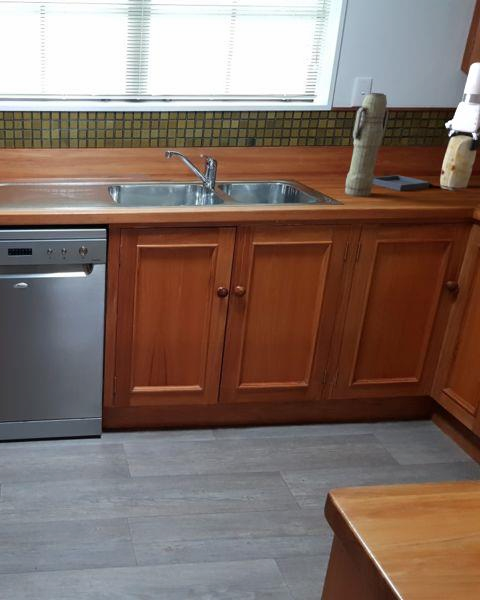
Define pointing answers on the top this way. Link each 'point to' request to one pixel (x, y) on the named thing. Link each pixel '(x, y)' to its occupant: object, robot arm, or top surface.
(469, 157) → the food model
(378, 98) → the thermos
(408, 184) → the tray
